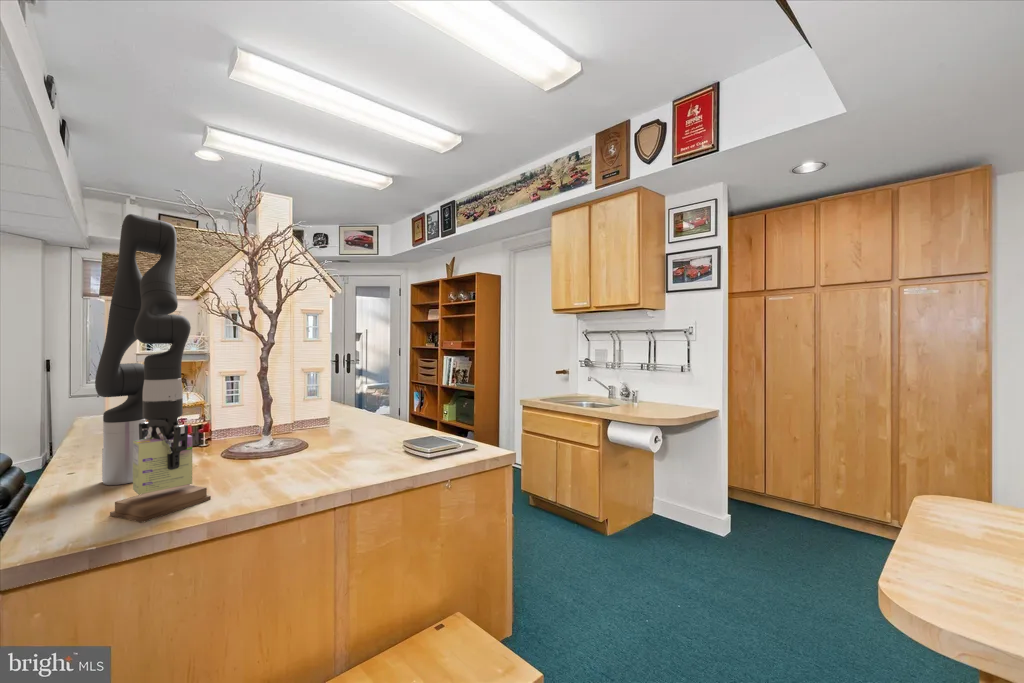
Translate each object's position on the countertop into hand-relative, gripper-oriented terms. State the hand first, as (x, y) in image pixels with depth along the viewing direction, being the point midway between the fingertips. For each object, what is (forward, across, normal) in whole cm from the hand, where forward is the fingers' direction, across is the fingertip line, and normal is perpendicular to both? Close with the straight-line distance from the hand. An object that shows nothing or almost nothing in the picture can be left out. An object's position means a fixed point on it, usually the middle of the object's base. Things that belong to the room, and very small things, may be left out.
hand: (163, 467), depth 106 cm
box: (+5, 0, 0) cm, 5 cm away
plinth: (+10, 0, 0) cm, 10 cm away
